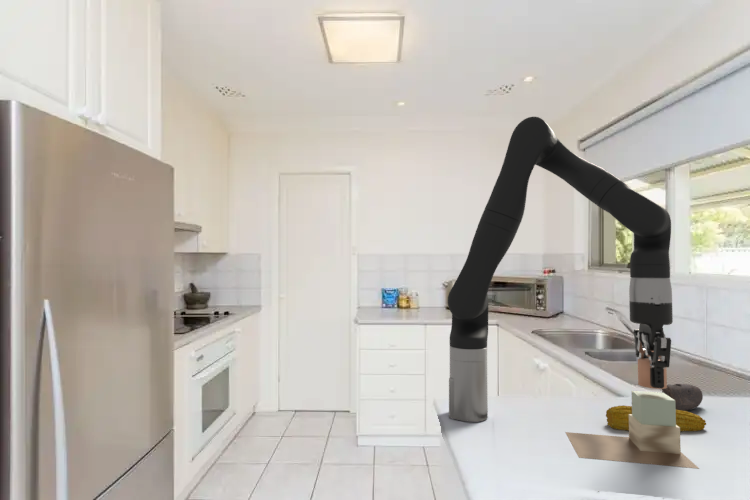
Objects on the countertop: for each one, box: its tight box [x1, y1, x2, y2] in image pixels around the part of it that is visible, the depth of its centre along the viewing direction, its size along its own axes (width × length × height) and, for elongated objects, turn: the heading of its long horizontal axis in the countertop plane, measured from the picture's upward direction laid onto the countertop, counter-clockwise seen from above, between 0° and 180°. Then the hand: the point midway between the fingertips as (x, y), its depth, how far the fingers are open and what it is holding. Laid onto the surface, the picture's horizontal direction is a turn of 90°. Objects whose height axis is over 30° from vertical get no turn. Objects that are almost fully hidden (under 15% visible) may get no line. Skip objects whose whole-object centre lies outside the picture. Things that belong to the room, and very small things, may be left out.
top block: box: [631, 390, 676, 427], centre depth 92 cm, size 6×6×5 cm
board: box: [565, 431, 700, 469], centre depth 90 cm, size 20×14×1 cm
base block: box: [628, 414, 681, 454], centre depth 92 cm, size 7×7×5 cm
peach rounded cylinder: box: [637, 358, 668, 390], centre depth 93 cm, size 5×5×5 cm
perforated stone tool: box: [661, 383, 704, 412], centre depth 120 cm, size 15×5×7 cm, turn 112°
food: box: [605, 405, 707, 432], centre depth 103 cm, size 21×6×6 cm, turn 89°
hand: (652, 383), depth 92 cm, fingers closed on peach rounded cylinder, 5 cm apart
